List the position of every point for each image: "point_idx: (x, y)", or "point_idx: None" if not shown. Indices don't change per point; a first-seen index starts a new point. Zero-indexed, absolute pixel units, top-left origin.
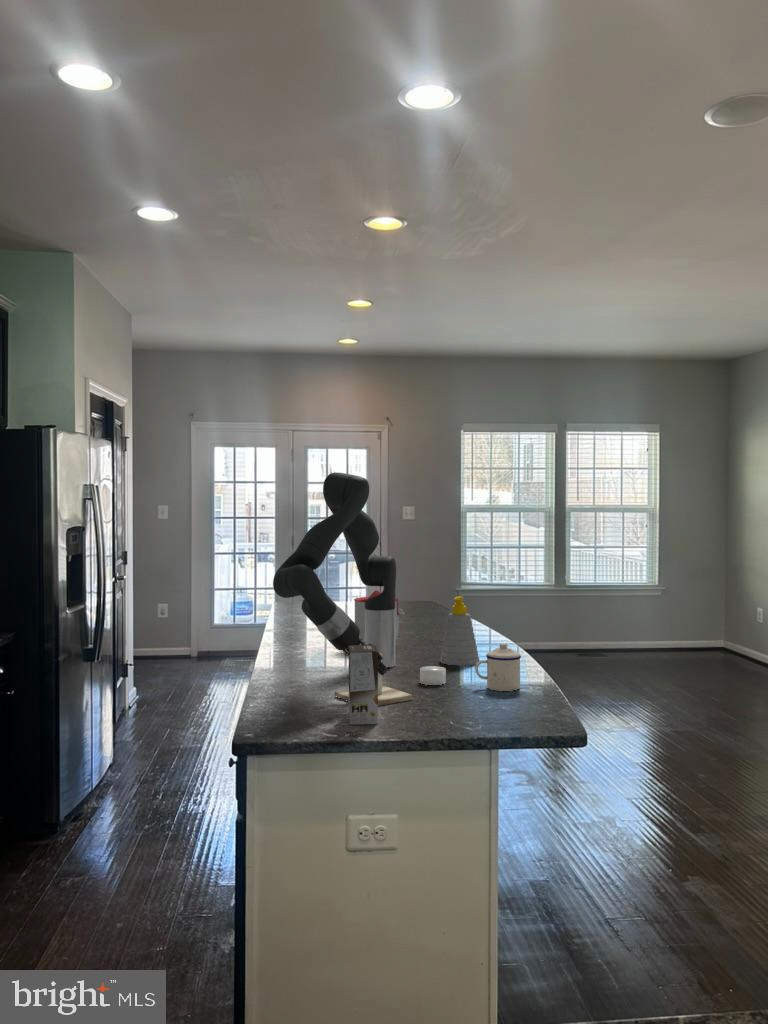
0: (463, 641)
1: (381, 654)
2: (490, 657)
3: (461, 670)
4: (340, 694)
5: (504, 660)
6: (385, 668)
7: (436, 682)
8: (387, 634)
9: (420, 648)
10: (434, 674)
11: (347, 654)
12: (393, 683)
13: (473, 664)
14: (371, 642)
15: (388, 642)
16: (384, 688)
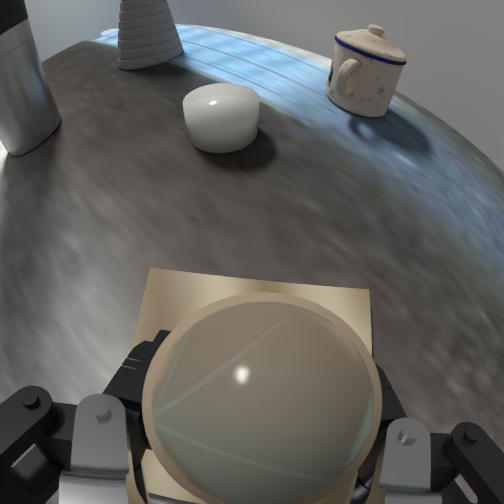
0: (164, 22)
1: (370, 356)
2: (380, 58)
3: (189, 68)
4: (161, 495)
5: (401, 65)
6: (382, 375)
7: (253, 133)
8: (28, 72)
9: (61, 68)
10: (251, 117)
11: (36, 483)
12: (136, 193)
13: (181, 52)
14: (3, 110)
15: (36, 86)
16: (210, 299)
